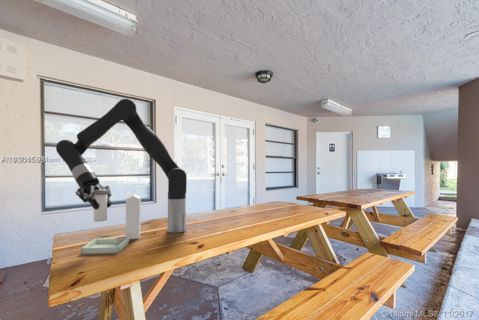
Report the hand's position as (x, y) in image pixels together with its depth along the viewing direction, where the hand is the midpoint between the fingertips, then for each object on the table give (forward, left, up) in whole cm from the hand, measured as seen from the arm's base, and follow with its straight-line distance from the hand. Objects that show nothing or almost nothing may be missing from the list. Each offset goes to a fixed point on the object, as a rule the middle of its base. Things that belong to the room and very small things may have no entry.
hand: (103, 207), depth 100 cm
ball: (-4, -5, -16) cm, 17 cm away
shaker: (+2, -1, -6) cm, 6 cm away
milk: (-6, -17, -18) cm, 26 cm away
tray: (0, -2, -18) cm, 18 cm away
